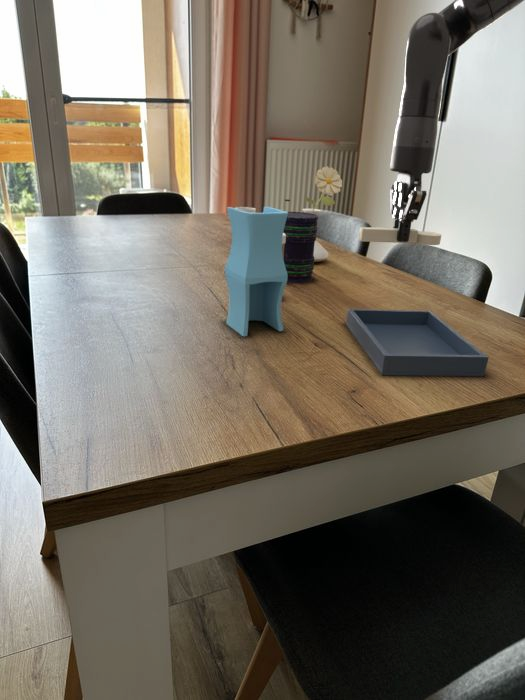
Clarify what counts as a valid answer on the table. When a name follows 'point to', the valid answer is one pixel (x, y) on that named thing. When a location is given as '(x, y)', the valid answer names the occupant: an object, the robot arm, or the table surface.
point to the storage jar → (299, 246)
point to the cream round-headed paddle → (391, 236)
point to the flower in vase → (324, 201)
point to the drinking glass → (246, 209)
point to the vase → (256, 268)
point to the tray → (414, 344)
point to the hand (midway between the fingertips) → (399, 239)
